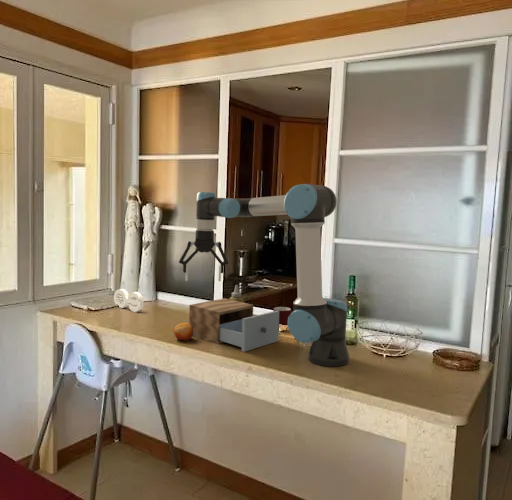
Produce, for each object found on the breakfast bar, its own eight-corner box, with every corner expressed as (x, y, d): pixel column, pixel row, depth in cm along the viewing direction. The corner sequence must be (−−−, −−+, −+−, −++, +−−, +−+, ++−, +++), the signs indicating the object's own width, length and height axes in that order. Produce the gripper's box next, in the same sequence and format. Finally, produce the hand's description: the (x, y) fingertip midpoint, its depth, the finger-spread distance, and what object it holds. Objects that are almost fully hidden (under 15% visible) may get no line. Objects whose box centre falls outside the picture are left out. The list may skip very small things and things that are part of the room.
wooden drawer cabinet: (252, 334, 210) (253, 304, 209) (217, 344, 195) (218, 312, 194) (223, 326, 222) (224, 298, 221) (189, 334, 207) (189, 304, 205)
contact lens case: (113, 306, 256) (113, 288, 255) (117, 305, 258) (117, 287, 257) (140, 313, 243) (140, 293, 242) (143, 312, 244) (143, 293, 243)
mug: (279, 334, 211) (280, 312, 210) (265, 331, 216) (266, 309, 215) (293, 330, 219) (294, 309, 218) (280, 326, 224) (280, 306, 223)
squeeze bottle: (247, 322, 232) (248, 285, 230) (237, 325, 225) (238, 287, 223) (234, 319, 236) (235, 283, 234) (224, 322, 229) (224, 285, 228)
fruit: (199, 334, 204) (194, 320, 199) (190, 347, 198) (185, 333, 193) (183, 331, 207) (178, 317, 202) (174, 344, 201) (168, 331, 197)
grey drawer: (280, 341, 200) (281, 311, 199) (246, 352, 184) (247, 320, 183) (246, 332, 213) (247, 303, 212) (211, 341, 197) (212, 311, 196)
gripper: (233, 229, 203) (231, 279, 205) (173, 228, 198) (172, 278, 200) (236, 231, 195) (234, 282, 198) (174, 229, 190) (172, 282, 193)
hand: (203, 280), depth 199 cm, fingers open, 13 cm apart
